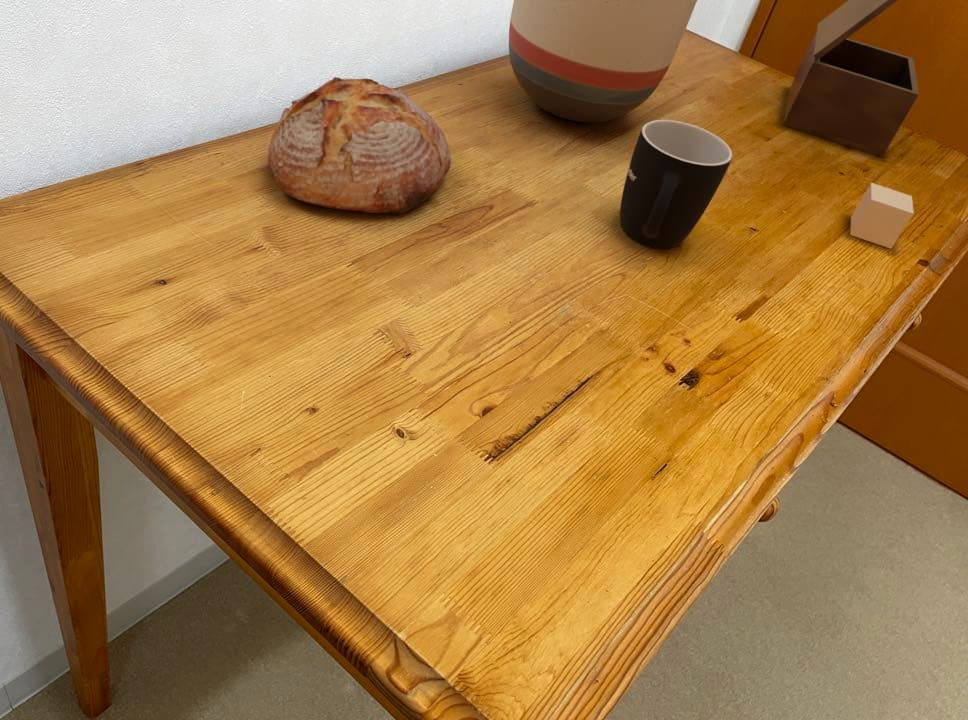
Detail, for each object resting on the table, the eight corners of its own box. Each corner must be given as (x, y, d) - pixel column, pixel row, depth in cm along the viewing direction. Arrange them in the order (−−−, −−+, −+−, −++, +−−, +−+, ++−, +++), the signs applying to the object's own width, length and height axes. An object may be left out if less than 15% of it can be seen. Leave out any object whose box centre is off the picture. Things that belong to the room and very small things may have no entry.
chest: (880, 117, 125) (913, 58, 119) (882, 157, 114) (919, 94, 108) (789, 88, 127) (817, 29, 121) (782, 125, 116) (813, 61, 110)
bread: (229, 178, 83) (225, 75, 76) (362, 127, 95) (369, 35, 89) (354, 246, 76) (362, 140, 70) (480, 182, 89) (496, 87, 82)
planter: (579, 163, 96) (644, -39, 82) (457, 87, 106) (497, -106, 91) (678, 130, 108) (751, -51, 94) (561, 65, 118) (611, -109, 103)
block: (890, 231, 98) (912, 195, 95) (891, 249, 95) (914, 213, 92) (850, 217, 99) (871, 182, 96) (850, 235, 95) (871, 199, 92)
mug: (617, 199, 92) (650, 110, 85) (697, 227, 90) (737, 139, 83) (592, 250, 83) (626, 155, 76) (680, 282, 82) (723, 189, 75)
